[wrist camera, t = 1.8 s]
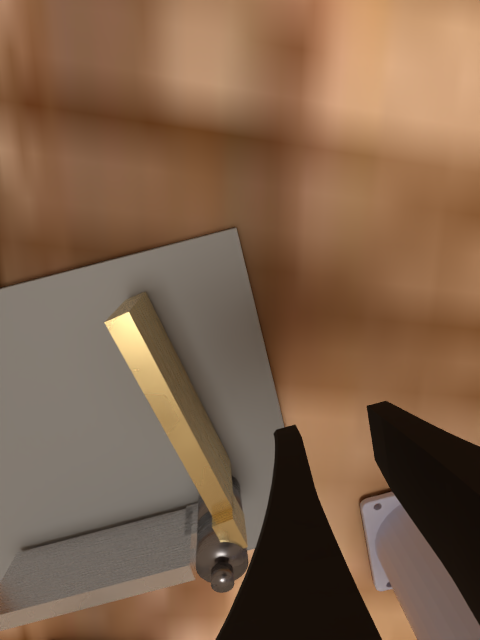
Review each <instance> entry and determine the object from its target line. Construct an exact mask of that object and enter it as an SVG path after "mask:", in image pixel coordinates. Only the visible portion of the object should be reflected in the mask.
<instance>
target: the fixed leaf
mask: <svg viewBox="0 0 480 640" xmlns="http://www.w3.org/2000/svg"><path fill="white" fill-rule="evenodd" d="M232 486H233V494H234V496H235V498H236V500H237V501H238V503H239V505H240V507H241V509H242V511H243V508H242V499H241V490H240V484H239V482H238V480H237V479H236V478H235V477H233V476H232ZM208 511H209V510H208V508H207V506H206V504H205V503H204V501H203V499H202V497H201V495H200V494H199V497H198V503H195V504H191V505H187V506H186V509H182V510H179V511H175V512H171V513H167V514H163V515H159V516H156V517H152V518H148V519H144V520H140V521H137V522H133V523H129V524H125V525H121V526H117V527H114V528H110V529H106V530H102V531H98V532H95V533H91V534H87V535H83V536H79V537H75V538H72V539H68V540H64V541H60V542H56V543H53V544H49V545H45V546H41V547H37V548H33V549H30V550H26V551H22V552H18V553H17V554H16V556H15V557H14V559H13V561H12V563H11V564H10V566H9V568H8V570H7V571H6V573H5V575H4V577H3V578H2V580H1V582H0V631H2V630H6V629H10V628H13V627H17V626H21V625H25V624H29V623H32V622H36V621H40V620H44V619H48V618H51V617H55V616H59V615H63V614H67V613H70V612H74V611H78V610H82V609H86V608H90V607H93V606H97V605H101V604H105V603H109V602H112V601H116V600H120V599H124V598H128V597H131V596H135V595H139V594H143V593H147V592H150V591H154V590H158V589H162V588H166V587H170V586H173V585H177V584H181V583H185V582H189V581H192V580H195V572H196V545H197V525H198V522H199V520H200V518H201V517H202V516H203V515H204V514H205V513H207V512H208ZM233 586H234V571H233V567H232V565H231V564H229V563H226V562H220V563H217V564H215V565H214V566H213V567H212V569H211V587H212V589H213V590H214V591H216V592H220V593H223V592H227V591H229V590H231V589H232V588H233Z"/></svg>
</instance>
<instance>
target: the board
mask: <svg viewBox="0 0 480 640" xmlns="http://www.w3.org/2000/svg"><path fill="white" fill-rule="evenodd" d="M143 292H146V294H147V296H148V298H149V300H150V302H151V304H152V306H153V308H154V310H155V312H156V314H157V315H158V317H159V319H160V321H161V323H162V325H163V327H164V329H165V331H166V333H167V335H168V337H169V339H170V341H171V343H172V345H173V347H174V349H175V351H176V353H177V355H178V357H179V359H180V361H181V363H182V365H183V367H184V369H185V371H186V373H187V375H188V377H189V379H190V381H191V383H192V385H193V387H194V389H195V391H196V393H197V395H198V397H199V399H200V401H201V403H202V405H203V407H204V409H205V411H206V413H207V415H208V417H209V419H210V421H211V423H212V425H213V427H214V429H215V431H216V433H217V435H218V437H219V439H220V441H221V443H222V445H223V447H224V449H225V451H226V453H227V455H228V457H229V459H230V461H231V474H232V476H233V477H235V478H236V479H237V480H238V482H239V484H240V490H241V499H242V508H243V513H244V517H245V526H246V535H247V544H248V547H247V550H251V549H254V548H255V547H256V544H257V542H258V538H259V535H260V532H261V528H262V525H263V521H264V517H265V513H266V509H267V505H268V500H269V494H270V489H271V484H272V477H273V469H274V459H275V440H274V432H275V431H276V430H277V429H280V428H284V423H283V419H282V415H281V411H280V407H279V402H278V398H277V394H276V390H275V386H274V382H273V378H272V373H271V369H270V365H269V361H268V357H267V353H266V349H265V344H264V340H263V336H262V332H261V328H260V324H259V320H258V315H257V311H256V307H255V303H254V299H253V295H252V291H251V286H250V282H249V278H248V274H247V270H246V266H245V262H244V257H243V253H242V249H241V245H240V241H239V237H238V233H237V228H236V227H234V228H230V229H226V230H223V231H219V232H215V233H211V234H207V235H203V236H199V237H196V238H192V239H188V240H184V241H180V242H176V243H172V244H169V245H165V246H161V247H157V248H153V249H149V250H145V251H142V252H138V253H134V254H130V255H126V256H122V257H118V258H115V259H111V260H107V261H103V262H99V263H95V264H91V265H88V266H84V267H80V268H76V269H72V270H68V271H64V272H61V273H57V274H53V275H49V276H45V277H41V278H37V279H34V280H30V281H26V282H22V283H18V284H14V285H10V286H7V287H3V288H0V582H1V580H2V578H3V577H4V575H5V573H6V571H7V570H8V568H9V566H10V564H11V563H12V561H13V559H14V557H15V556H16V554H17V553H18V552H22V551H26V550H30V549H33V548H37V547H41V546H45V545H49V544H53V543H56V542H60V541H64V540H68V539H72V538H75V537H79V536H83V535H87V534H91V533H95V532H98V531H102V530H106V529H110V528H114V527H117V526H121V525H125V524H129V523H133V522H137V521H140V520H144V519H148V518H152V517H156V516H159V515H163V514H167V513H171V512H175V511H179V510H182V509H186V506H187V505H191V504H195V503H198V497H199V492H198V490H197V488H196V486H195V485H194V483H193V481H192V479H191V477H190V476H189V474H188V472H187V470H186V468H185V467H184V465H183V463H182V461H181V459H180V458H179V456H178V454H177V452H176V450H175V449H174V447H173V445H172V443H171V441H170V440H169V438H168V436H167V434H166V433H165V431H164V429H163V427H162V425H161V424H160V422H159V420H158V418H157V416H156V415H155V413H154V411H153V409H152V407H151V406H150V404H149V402H148V400H147V398H146V397H145V395H144V393H143V391H142V389H141V388H140V386H139V384H138V382H137V380H136V379H135V377H134V375H133V373H132V371H131V370H130V368H129V366H128V364H127V362H126V361H125V359H124V357H123V355H122V353H121V352H120V350H119V348H118V346H117V345H116V343H115V341H114V339H113V337H112V336H111V334H110V332H109V330H108V328H107V327H106V325H105V323H104V322H105V321H106V320H107V319H108V318H109V317H110V316H111V315H112V314H113V312H114V311H115V310H116V309H117V308H118V307H119V306H120V305H121V304H122V303H123V302H124V301H125V300H126V299H129V298H131V297H133V296H136V295H138V294H141V293H143Z"/></svg>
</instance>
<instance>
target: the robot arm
mask: <svg viewBox="0 0 480 640" xmlns="http://www.w3.org/2000/svg"><path fill="white" fill-rule="evenodd" d="M367 411H368V418H369V424H370V431H371V437H372V444H373V451H374V457H375V461H376V463H377V465H378V466H379V468H380V470H381V472H382V474H383V476H384V478H385V480H386V481H387V483H388V485H389V487H390V489H391V490H392V492H389V493H385V494H381V495H377V496H373V497H370V498H366V499H364V500H363V501H362V502H361V503H360V509H361V515H362V521H363V526H364V532H365V538H366V543H367V549H368V555H369V560H370V566H371V571H372V577H373V583H374V585H375V588H376V589H377V590H378V591H385V590H389V589H393V590H394V592H395V594H396V596H397V599H398V601H399V603H400V605H401V607H402V609H403V611H404V613H405V615H406V617H407V619H408V621H409V623H410V625H411V628H412V630H413V632H414V634H415V636H416V638H417V640H480V447H479V446H477V445H474V444H472V443H470V442H468V441H465V440H463V439H461V438H459V437H457V436H454V435H452V434H450V433H448V432H446V431H444V430H442V429H440V428H438V427H436V426H434V425H432V424H430V423H428V422H426V421H424V420H422V419H420V418H418V417H416V416H414V415H412V414H410V413H408V412H407V411H405V410H403V409H401V408H399V407H397V406H395V405H393V404H391V403H389V402H387V401H384V402H380V403H376V404H372V405H369V406H367ZM274 440H275V459H274V469H273V477H272V484H271V489H270V494H269V500H268V505H267V509H266V513H265V517H264V521H263V525H262V528H261V532H260V535H259V538H258V542H257V544H256V547H255V550H254V553H253V556H252V559H251V562H250V565H249V567H248V570H247V573H246V575H245V578H244V580H243V582H242V585H241V587H240V589H239V591H238V594H237V596H236V598H235V600H234V603H233V605H232V607H231V610H230V612H229V614H228V616H227V618H226V620H225V622H224V624H223V626H222V628H221V630H220V632H219V634H218V636H217V638H216V640H382V639H381V637H380V634H379V632H378V630H377V628H376V626H375V624H374V622H373V620H372V618H371V616H370V614H369V611H368V609H367V607H366V605H365V603H364V601H363V599H362V597H361V595H360V593H359V590H358V588H357V586H356V584H355V582H354V579H353V577H352V575H351V573H350V571H349V568H348V566H347V564H346V562H345V560H344V557H343V555H342V553H341V550H340V548H339V546H338V544H337V541H336V539H335V537H334V534H333V532H332V530H331V527H330V525H329V523H328V520H327V518H326V515H325V513H324V511H323V508H322V506H321V503H320V501H319V498H318V495H317V492H316V489H315V486H314V482H313V478H312V475H311V471H310V467H309V463H308V459H307V455H306V452H305V448H304V444H303V440H302V437H301V435H300V433H299V431H298V429H297V427H296V425H292V426H288V427H284V428H280V429H277V430H276V431H275V432H274ZM375 504H376V505H375Z"/></svg>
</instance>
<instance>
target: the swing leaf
mask: <svg viewBox="0 0 480 640" xmlns="http://www.w3.org/2000/svg"><path fill="white" fill-rule="evenodd" d="M104 323H105V325H106V327H107V328H108V330H109V332H110V334H111V336H112V337H113V339H114V341H115V343H116V345H117V346H118V348H119V350H120V352H121V353H122V355H123V357H124V359H125V361H126V362H127V364H128V366H129V368H130V370H131V371H132V373H133V375H134V377H135V379H136V380H137V382H138V384H139V386H140V388H141V389H142V391H143V393H144V395H145V397H146V398H147V400H148V402H149V404H150V406H151V407H152V409H153V411H154V413H155V415H156V416H157V418H158V420H159V422H160V424H161V425H162V427H163V429H164V431H165V433H166V434H167V436H168V438H169V440H170V441H171V443H172V445H173V447H174V449H175V450H176V452H177V454H178V456H179V458H180V459H181V461H182V463H183V465H184V467H185V468H186V470H187V472H188V474H189V476H190V477H191V479H192V481H193V483H194V485H195V486H196V488H197V490H198V492H199V494H200V495H201V497H202V499H203V501H204V503H205V504H206V506H207V508H208V510H209V511H208V512H207V513H205V514H204V515H203V516H202V517H201V518H200V520H199V522H198V525H197V545H196V570H197V573H198V574H199V576H200V577H201V578H203V579H204V580H206V581H208V582H211V569H212V567H213V566H214V565H215V564H217V563H220V562H226V563H229V564H231V565H232V567H233V571H234V580H236V579H238V578H239V577H241V576H242V575H243V574H244V572H245V571H246V569H247V567H248V555H247V547H248V544H247V535H246V526H245V517H244V513H243V511H242V509H241V507H240V505H239V503H238V501H237V500H236V498H235V496H234V494H233V486H232V474H231V461H230V459H229V457H228V455H227V453H226V451H225V449H224V447H223V445H222V443H221V441H220V439H219V437H218V435H217V433H216V431H215V429H214V427H213V425H212V423H211V421H210V419H209V417H208V415H207V413H206V411H205V409H204V407H203V405H202V403H201V401H200V399H199V397H198V395H197V393H196V391H195V389H194V387H193V385H192V383H191V381H190V379H189V377H188V375H187V373H186V371H185V369H184V367H183V365H182V363H181V361H180V359H179V357H178V355H177V353H176V351H175V349H174V347H173V345H172V343H171V341H170V339H169V337H168V335H167V333H166V331H165V329H164V327H163V325H162V323H161V321H160V319H159V317H158V315H157V314H156V312H155V310H154V308H153V306H152V304H151V302H150V300H149V298H148V296H147V294H146V292H143V293H141V294H138V295H136V296H133V297H131V298H129V299H126V300H125V301H124V302H123V303H122V304H121V305H120V306H119V307H118V308H117V309H116V310H115V311H114V312H113V314H112V315H111V316H110V317H109V318H108V319H107V320H106V321H105V322H104Z"/></svg>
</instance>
